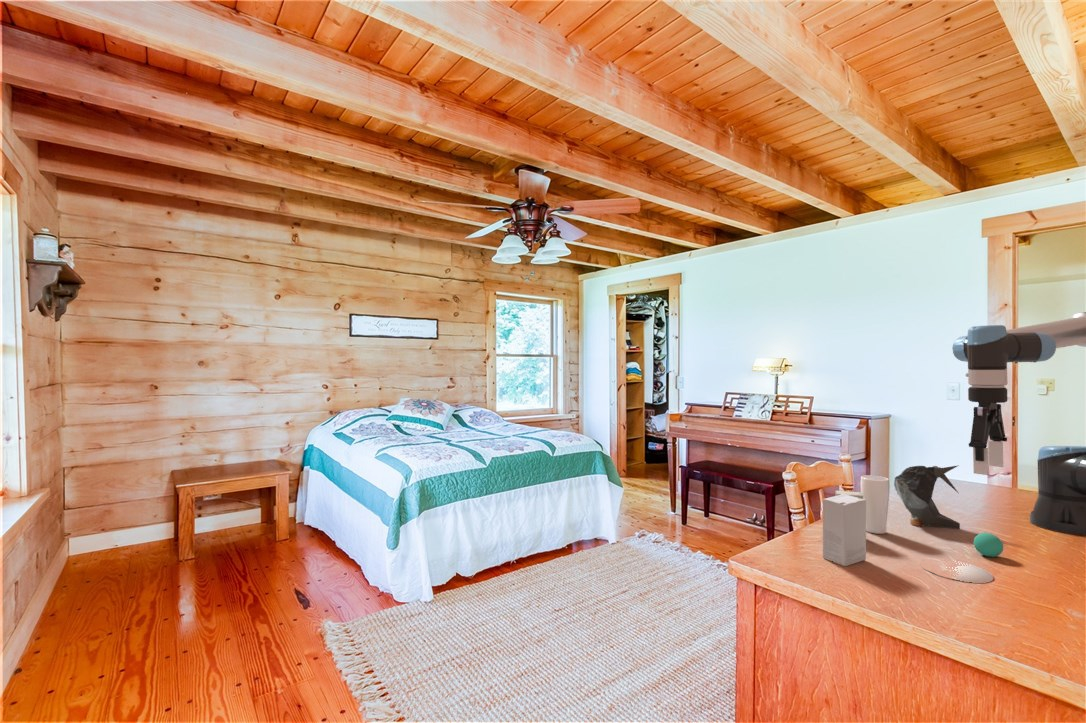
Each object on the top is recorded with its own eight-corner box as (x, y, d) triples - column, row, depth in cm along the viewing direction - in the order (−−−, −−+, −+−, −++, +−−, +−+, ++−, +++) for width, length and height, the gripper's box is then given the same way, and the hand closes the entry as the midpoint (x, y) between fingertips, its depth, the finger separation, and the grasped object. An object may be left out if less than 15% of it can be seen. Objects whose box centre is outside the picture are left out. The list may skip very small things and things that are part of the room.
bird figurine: (889, 514, 158) (889, 456, 158) (951, 520, 152) (951, 460, 152) (898, 528, 146) (898, 464, 146) (966, 535, 139) (966, 469, 139)
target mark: (961, 559, 123) (961, 558, 123) (1010, 583, 110) (1010, 582, 110) (906, 559, 123) (906, 558, 123) (948, 583, 110) (948, 582, 110)
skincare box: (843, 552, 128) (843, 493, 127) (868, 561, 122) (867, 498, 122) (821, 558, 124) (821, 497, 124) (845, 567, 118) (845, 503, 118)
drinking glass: (894, 536, 139) (894, 481, 139) (866, 534, 140) (866, 480, 140) (883, 528, 145) (882, 475, 145) (856, 526, 147) (856, 474, 147)
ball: (990, 551, 127) (989, 529, 127) (1009, 560, 122) (1009, 537, 122) (967, 551, 127) (967, 529, 127) (986, 560, 122) (986, 537, 122)
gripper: (982, 383, 140) (984, 461, 140) (953, 388, 125) (954, 475, 126) (1019, 384, 134) (1020, 465, 134) (992, 389, 119) (994, 480, 120)
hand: (988, 470), depth 130 cm, fingers open, 13 cm apart
